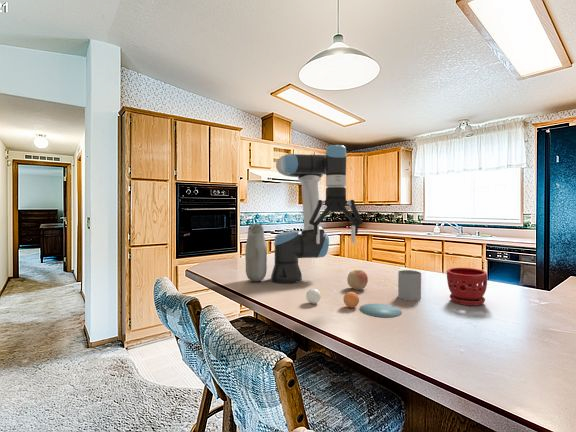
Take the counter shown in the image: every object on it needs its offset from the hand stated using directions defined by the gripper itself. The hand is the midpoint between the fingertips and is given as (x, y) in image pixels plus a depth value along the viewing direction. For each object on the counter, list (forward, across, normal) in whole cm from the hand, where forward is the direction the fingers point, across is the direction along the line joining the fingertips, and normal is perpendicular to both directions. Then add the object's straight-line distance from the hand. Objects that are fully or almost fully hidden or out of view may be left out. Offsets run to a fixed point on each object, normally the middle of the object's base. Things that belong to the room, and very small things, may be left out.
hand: (335, 243), depth 120 cm
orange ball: (+19, +4, -8) cm, 21 cm away
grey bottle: (+23, -30, +35) cm, 52 cm away
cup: (+22, +30, +1) cm, 38 cm away
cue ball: (+19, -9, -2) cm, 21 cm away
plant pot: (+22, +48, -7) cm, 54 cm away
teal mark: (+22, +13, -13) cm, 28 cm away
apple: (+23, +14, +16) cm, 31 cm away
